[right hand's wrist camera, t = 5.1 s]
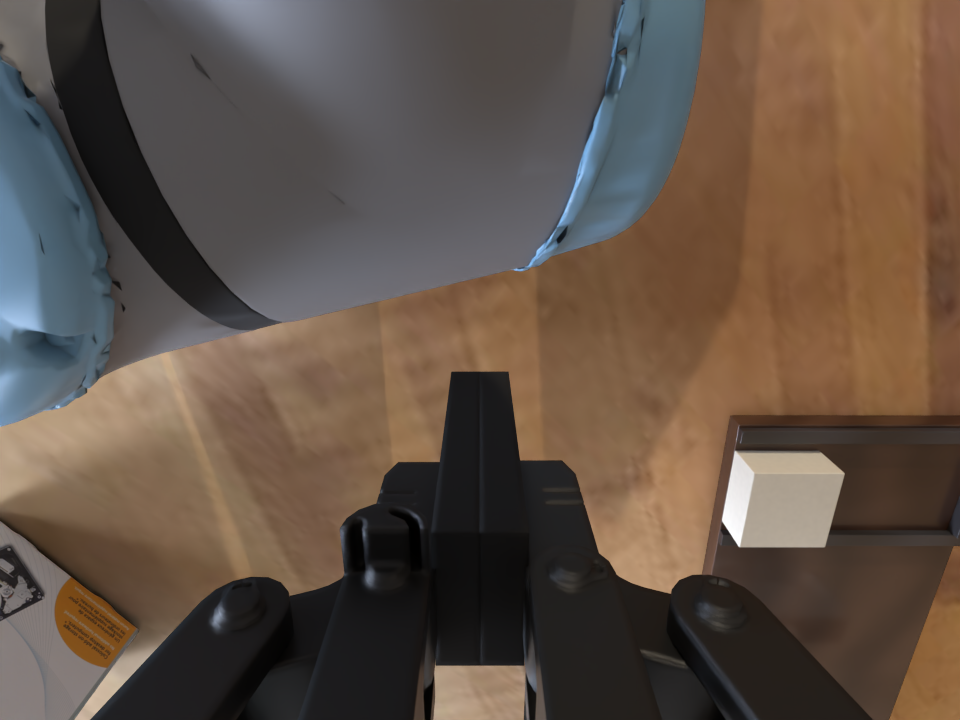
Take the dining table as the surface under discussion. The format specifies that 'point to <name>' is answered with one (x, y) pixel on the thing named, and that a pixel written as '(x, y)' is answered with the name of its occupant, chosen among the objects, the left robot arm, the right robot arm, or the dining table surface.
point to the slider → (781, 498)
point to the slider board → (855, 543)
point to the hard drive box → (51, 636)
